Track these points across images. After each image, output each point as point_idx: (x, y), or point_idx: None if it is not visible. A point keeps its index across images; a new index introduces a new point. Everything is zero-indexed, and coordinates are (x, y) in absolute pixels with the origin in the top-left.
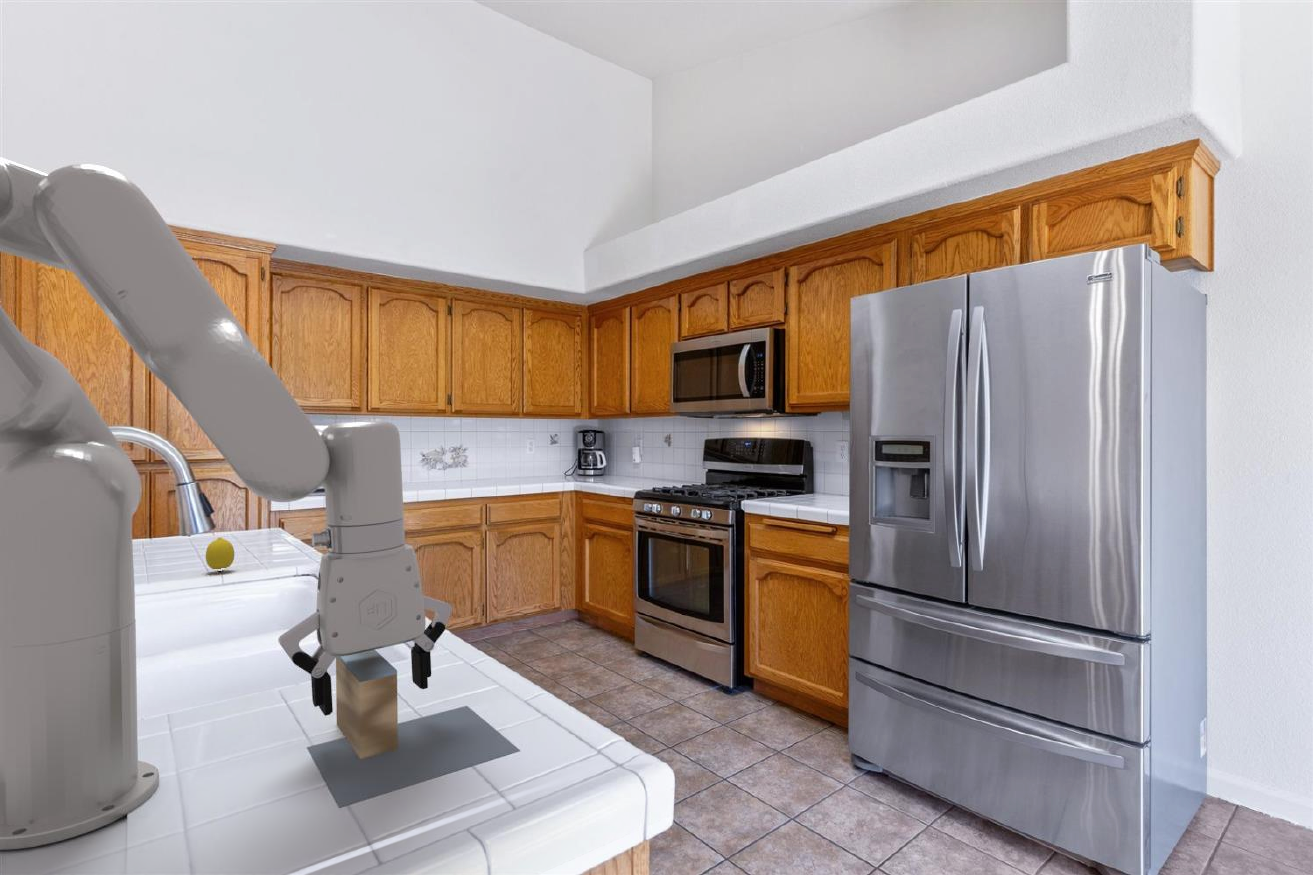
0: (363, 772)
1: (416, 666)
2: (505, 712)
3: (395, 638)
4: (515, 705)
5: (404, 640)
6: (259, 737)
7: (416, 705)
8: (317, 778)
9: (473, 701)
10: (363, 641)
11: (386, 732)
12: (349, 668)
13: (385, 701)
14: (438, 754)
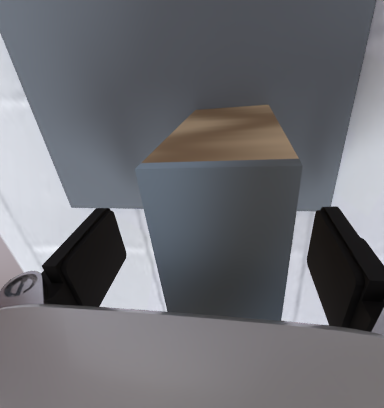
0: (284, 28)
1: (97, 260)
2: (17, 159)
3: (80, 330)
4: (4, 174)
5: (52, 308)
6: None
7: (142, 256)
8: (360, 82)
9: (65, 223)
10: (256, 376)
11: (212, 115)
12: (282, 295)
13: (203, 134)
14: (127, 27)
